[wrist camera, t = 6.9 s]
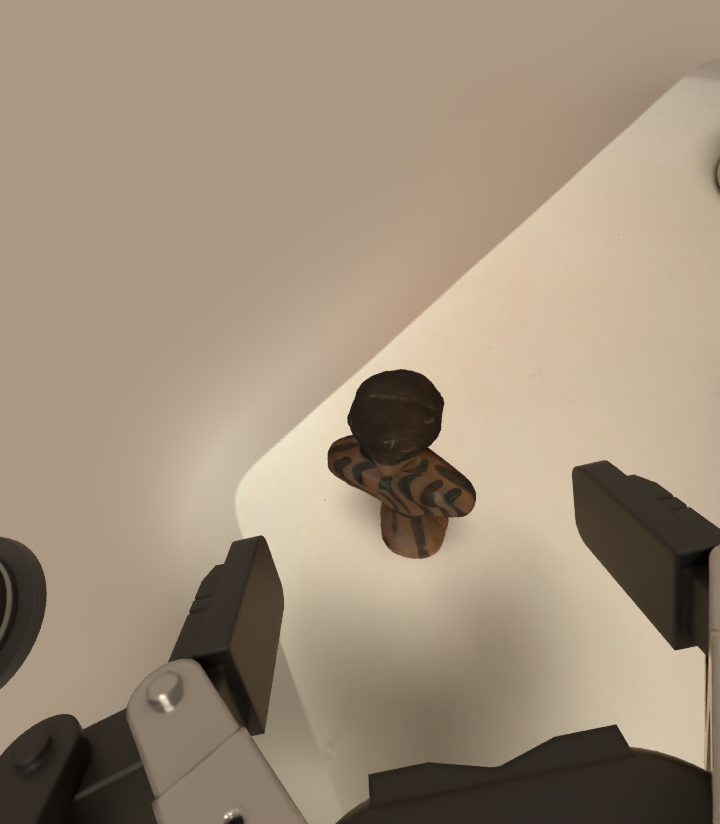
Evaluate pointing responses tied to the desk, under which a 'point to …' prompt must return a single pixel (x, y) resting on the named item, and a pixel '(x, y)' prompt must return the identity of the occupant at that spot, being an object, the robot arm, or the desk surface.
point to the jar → (718, 173)
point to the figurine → (402, 461)
